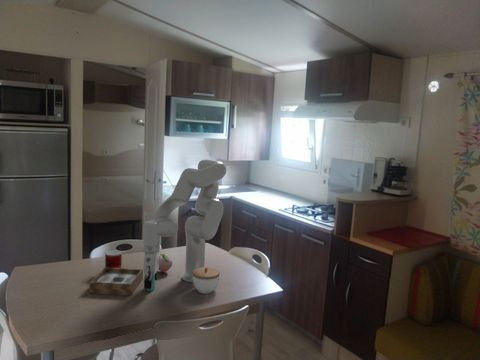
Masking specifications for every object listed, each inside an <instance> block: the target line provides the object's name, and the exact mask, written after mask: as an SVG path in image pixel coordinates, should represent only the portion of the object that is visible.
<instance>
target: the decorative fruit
mask: <svg viewBox="0 0 480 360" xmlns="http://www.w3.org/2000/svg"><path fill="white" fill-rule="evenodd" d="M172 266H173V260H172V258H171V257H169V256H168V255H166V254H165V253H161V254H160V255H159V269H158V270H157V271H160V272H162V273H165V272H168V271H169V270H170V269H171V268H172Z"/></svg>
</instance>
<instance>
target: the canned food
mask: <svg viewBox="0 0 480 360" xmlns="http://www.w3.org/2000/svg"><path fill="white" fill-rule="evenodd" d="M104 255H105V257H104V258H105V262H104V265H105V266H104V268H105V267H108V268H123V267H122V265H123V264H122V262H123V261H122V257H123V254H122V251H121V250H116V249H112V250H111V249H110V250H107V251H106V252H105V254H104Z"/></svg>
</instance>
